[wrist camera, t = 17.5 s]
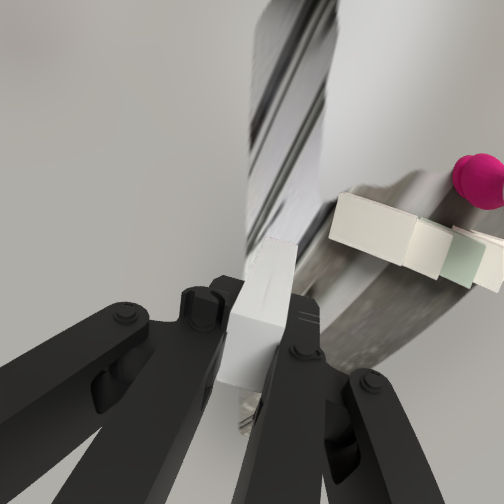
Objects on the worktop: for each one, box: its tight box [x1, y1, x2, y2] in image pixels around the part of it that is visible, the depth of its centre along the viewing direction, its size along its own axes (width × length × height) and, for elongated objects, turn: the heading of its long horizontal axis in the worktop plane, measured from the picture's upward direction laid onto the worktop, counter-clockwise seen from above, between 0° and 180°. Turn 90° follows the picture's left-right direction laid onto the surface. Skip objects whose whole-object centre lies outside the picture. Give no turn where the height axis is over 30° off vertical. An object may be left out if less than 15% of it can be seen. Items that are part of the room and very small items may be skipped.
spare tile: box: [420, 217, 486, 289], centre depth 34 cm, size 6×2×10 cm
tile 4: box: [452, 225, 504, 293], centre depth 34 cm, size 6×2×10 cm
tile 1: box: [329, 192, 418, 266], centre depth 36 cm, size 6×2×10 cm
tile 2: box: [402, 218, 454, 280], centre depth 35 cm, size 6×2×10 cm
